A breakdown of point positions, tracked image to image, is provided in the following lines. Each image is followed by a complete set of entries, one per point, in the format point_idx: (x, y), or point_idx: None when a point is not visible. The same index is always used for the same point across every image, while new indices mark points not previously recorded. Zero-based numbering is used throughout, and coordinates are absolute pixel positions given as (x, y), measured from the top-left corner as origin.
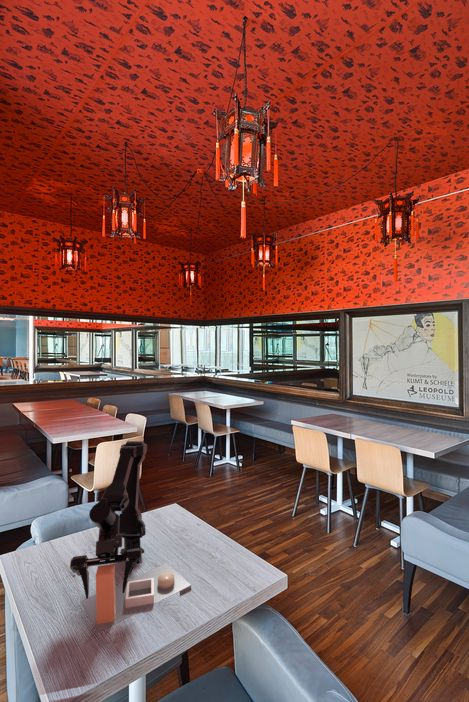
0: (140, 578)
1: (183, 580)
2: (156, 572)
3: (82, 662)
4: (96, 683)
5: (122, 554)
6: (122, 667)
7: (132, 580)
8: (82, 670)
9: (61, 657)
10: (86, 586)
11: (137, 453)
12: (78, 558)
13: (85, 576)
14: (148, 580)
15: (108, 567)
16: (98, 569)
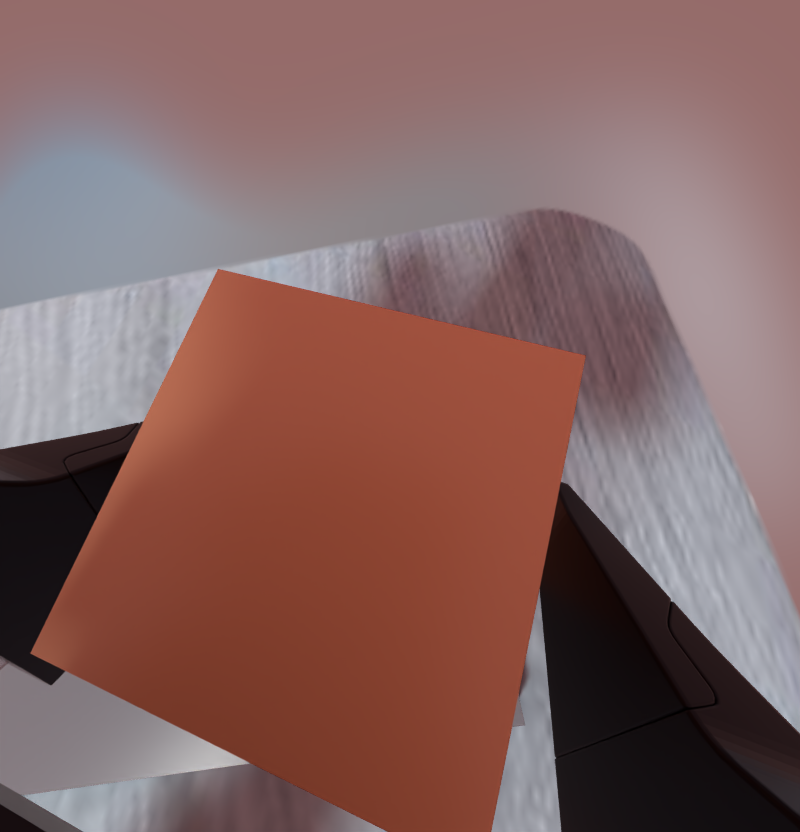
0: (145, 731)
1: None
2: (43, 732)
3: (524, 314)
4: (486, 218)
5: None
6: (400, 238)
7: (191, 743)
8: (526, 281)
9: (604, 373)
10: (607, 556)
11: None
12: None
13: (720, 709)
14: None
15: (224, 560)
16: (489, 619)
